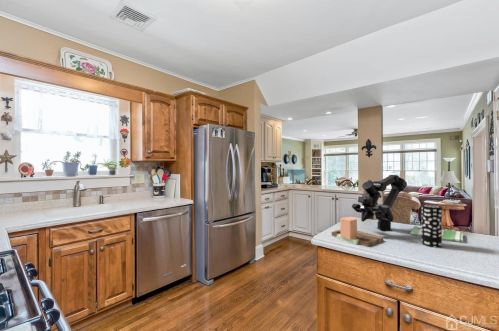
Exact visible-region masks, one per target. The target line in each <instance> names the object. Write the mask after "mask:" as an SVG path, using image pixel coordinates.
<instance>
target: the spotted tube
mask: <svg viewBox="0 0 499 331" xmlns="http://www.w3.org/2000/svg"><path fill="white" fill-rule="evenodd" d="M442 220H443V208H442V206H440V205H435V204H422V205H421V227H420V228H421V236H420V237H421V240H420V242H421V245H423V246H426V247H430V248H437V249H438V248H441V247H442V243H443V242H442V241H443V240H442V230H443V221H442Z"/></svg>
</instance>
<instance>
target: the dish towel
mask: <svg viewBox="0 0 499 331" xmlns="http://www.w3.org/2000/svg"><path fill="white" fill-rule="evenodd" d="M409 233H410V235H411V236H416V237H421V227H419V226H418V225H414V226H413V228H412V229H411V231H410V232H409ZM442 241H448V242H456V243H457V242H458V243H464V241H465V240H464V232H462V231H458V230H448V229H442Z"/></svg>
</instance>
